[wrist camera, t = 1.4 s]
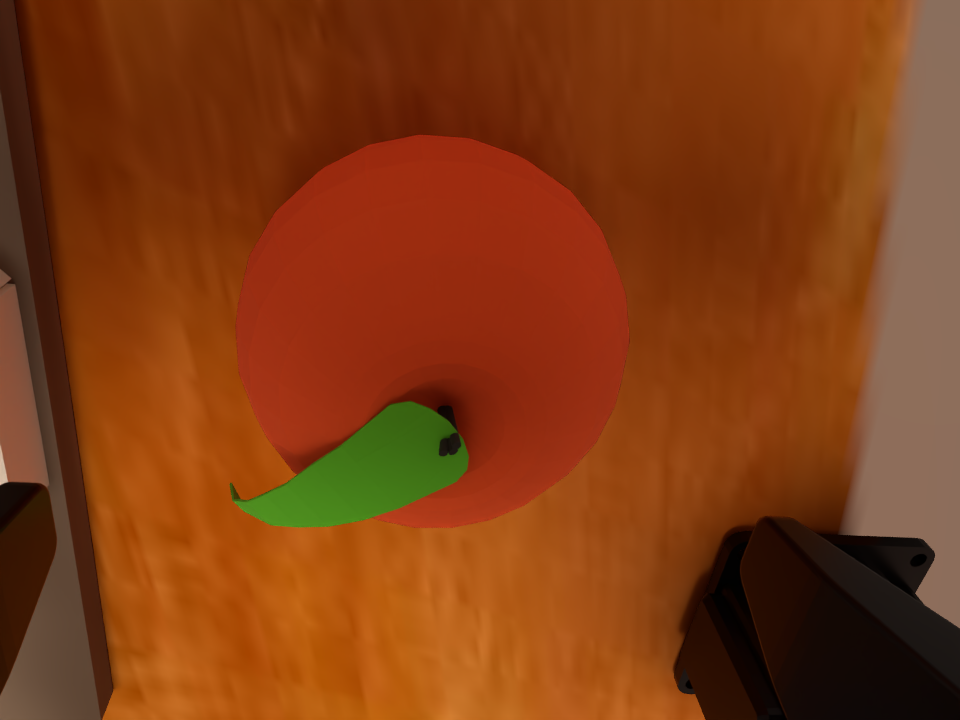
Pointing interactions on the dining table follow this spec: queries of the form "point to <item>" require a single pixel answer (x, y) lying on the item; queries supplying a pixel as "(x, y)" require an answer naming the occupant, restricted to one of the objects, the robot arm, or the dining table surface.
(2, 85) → the board
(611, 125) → the dining table surface
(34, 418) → the seat ring
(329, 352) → the clementine
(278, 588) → the dining table surface
